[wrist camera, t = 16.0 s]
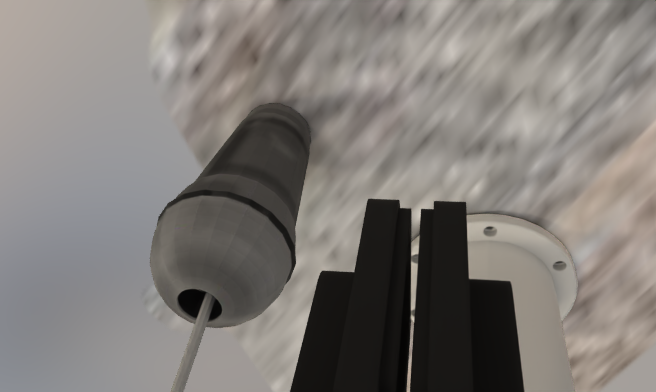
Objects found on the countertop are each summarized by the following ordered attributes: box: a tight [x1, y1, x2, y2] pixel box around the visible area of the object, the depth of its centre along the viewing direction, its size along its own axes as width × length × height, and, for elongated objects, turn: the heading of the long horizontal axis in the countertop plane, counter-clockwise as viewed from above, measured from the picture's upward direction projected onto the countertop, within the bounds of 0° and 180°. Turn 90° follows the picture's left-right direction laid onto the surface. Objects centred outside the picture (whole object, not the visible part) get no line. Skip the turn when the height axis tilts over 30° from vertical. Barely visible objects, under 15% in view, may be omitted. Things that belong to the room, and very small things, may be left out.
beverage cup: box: [150, 103, 311, 392], centre depth 31 cm, size 7×7×20 cm
